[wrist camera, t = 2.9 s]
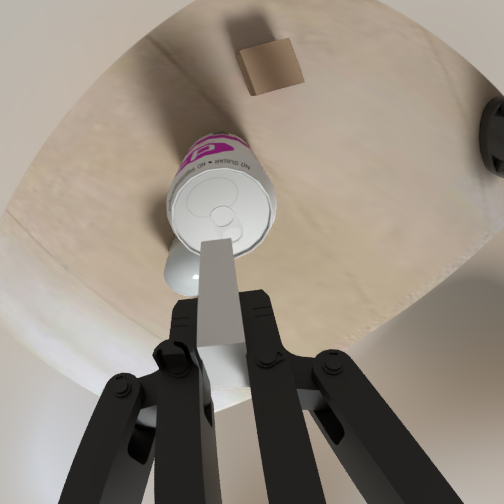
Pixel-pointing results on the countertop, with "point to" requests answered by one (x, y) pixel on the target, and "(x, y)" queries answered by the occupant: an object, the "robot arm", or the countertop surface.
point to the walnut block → (269, 66)
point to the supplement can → (221, 195)
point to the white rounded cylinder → (182, 269)
